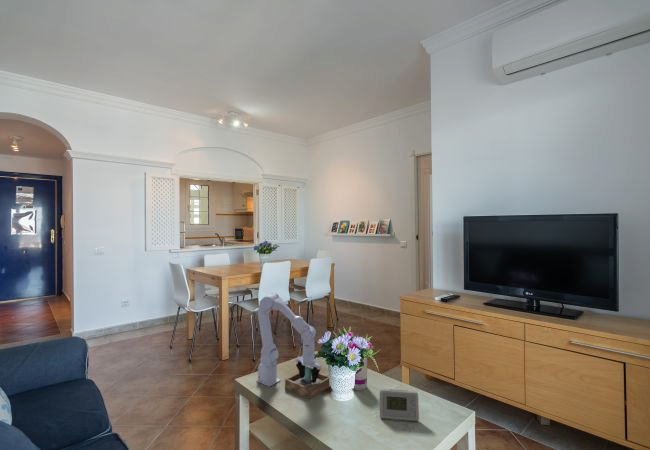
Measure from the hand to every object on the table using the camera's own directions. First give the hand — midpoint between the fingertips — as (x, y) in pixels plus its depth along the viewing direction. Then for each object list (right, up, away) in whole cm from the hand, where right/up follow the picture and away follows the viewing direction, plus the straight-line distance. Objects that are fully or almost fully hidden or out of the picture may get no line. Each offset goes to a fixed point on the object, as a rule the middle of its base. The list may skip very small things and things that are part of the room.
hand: (308, 379), depth 165 cm
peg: (0, -3, 0) cm, 3 cm away
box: (0, -4, 0) cm, 4 cm away
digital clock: (+39, -5, -25) cm, 46 cm away
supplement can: (+25, -4, +1) cm, 25 cm away
